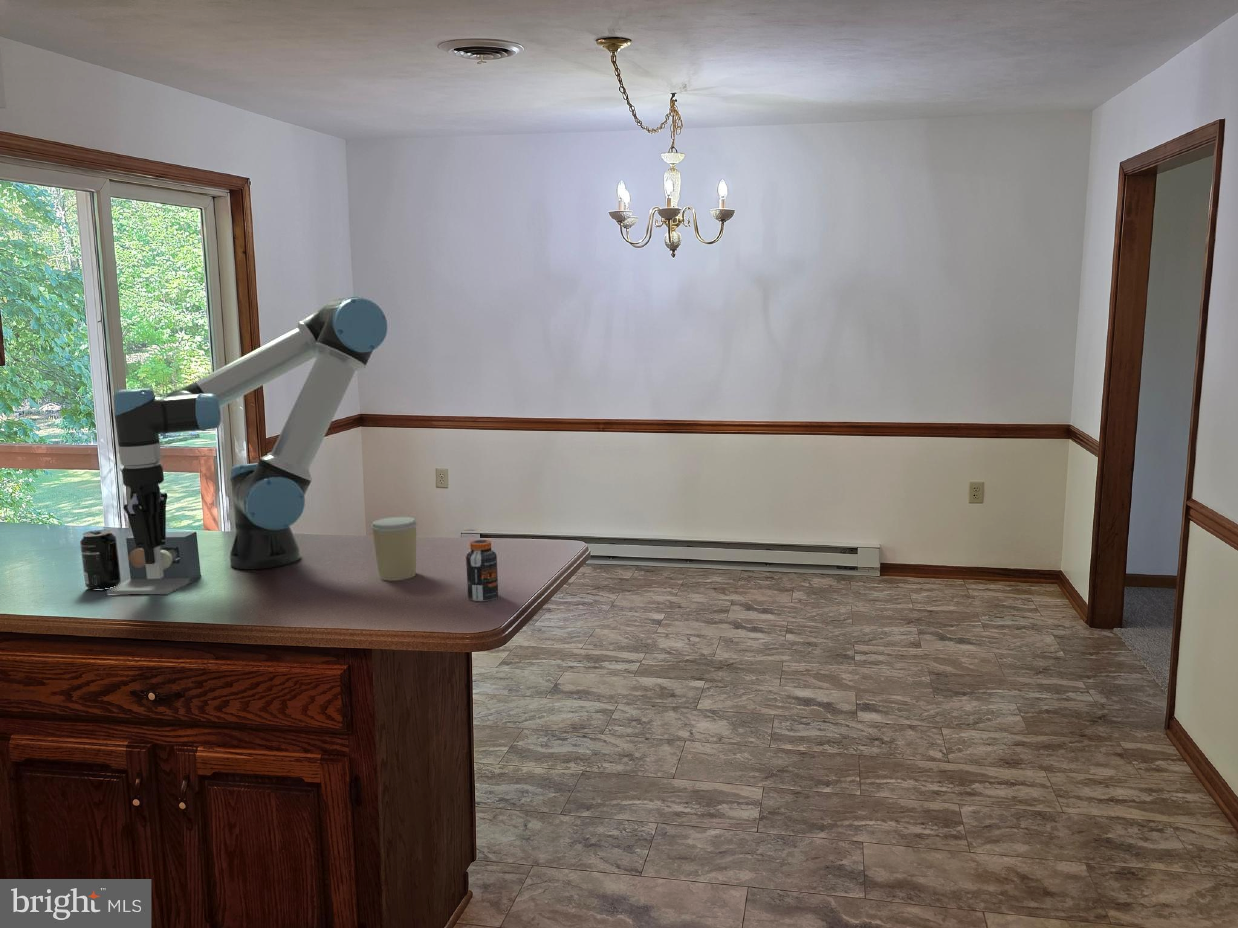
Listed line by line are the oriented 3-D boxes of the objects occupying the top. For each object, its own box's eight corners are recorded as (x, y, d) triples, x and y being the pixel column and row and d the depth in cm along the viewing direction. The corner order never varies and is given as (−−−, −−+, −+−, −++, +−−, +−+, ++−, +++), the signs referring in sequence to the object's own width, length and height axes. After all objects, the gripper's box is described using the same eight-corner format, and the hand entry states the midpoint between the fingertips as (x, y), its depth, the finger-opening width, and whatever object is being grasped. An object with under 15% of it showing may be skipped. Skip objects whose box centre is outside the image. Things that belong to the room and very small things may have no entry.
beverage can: (115, 581, 213) (109, 527, 211) (126, 586, 208) (120, 531, 207) (81, 588, 209) (74, 533, 207) (91, 593, 204) (84, 537, 202)
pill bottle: (485, 603, 188) (482, 546, 186) (461, 599, 191) (458, 542, 189) (504, 595, 193) (501, 539, 191) (481, 591, 196) (478, 536, 194)
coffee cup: (428, 571, 212) (425, 517, 211) (401, 583, 204) (398, 526, 202) (393, 568, 216) (389, 515, 215) (366, 579, 208) (361, 524, 206)
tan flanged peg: (179, 552, 221) (177, 535, 220) (148, 567, 208) (146, 549, 207) (161, 552, 221) (160, 535, 220) (130, 567, 208) (127, 549, 208)
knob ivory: (198, 555, 217) (197, 537, 217) (168, 570, 205) (166, 552, 204) (181, 555, 218) (179, 537, 217) (150, 570, 205) (148, 552, 204)
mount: (200, 576, 215) (196, 531, 214) (168, 594, 201) (162, 547, 200) (143, 576, 216) (138, 532, 214) (107, 595, 202) (101, 548, 201)
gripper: (140, 460, 205) (154, 569, 209) (105, 471, 193) (120, 587, 196) (175, 459, 205) (188, 568, 209) (142, 469, 192) (157, 586, 196)
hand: (155, 577), depth 203 cm, fingers closed
